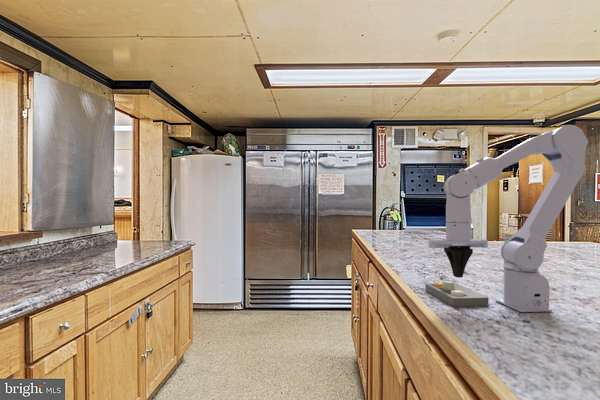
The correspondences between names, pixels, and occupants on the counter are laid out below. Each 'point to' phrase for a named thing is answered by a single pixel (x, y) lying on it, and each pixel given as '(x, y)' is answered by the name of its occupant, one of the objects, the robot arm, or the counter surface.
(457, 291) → the button ivory
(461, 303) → the panel
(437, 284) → the button orange
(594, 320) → the counter surface
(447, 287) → the button sage
